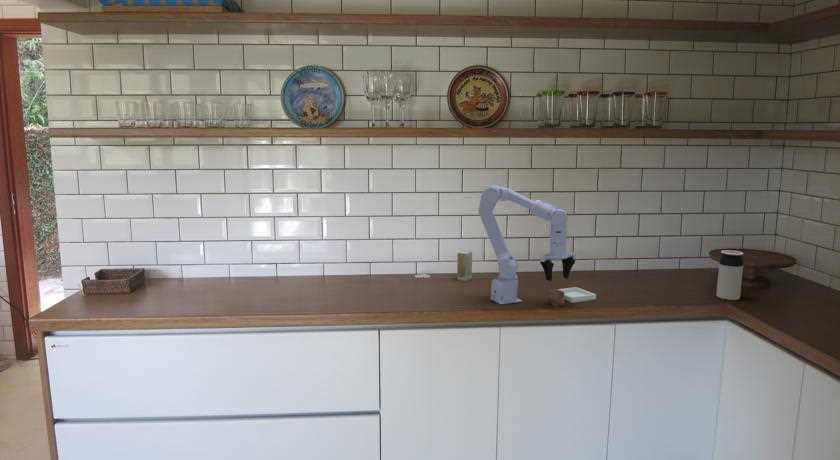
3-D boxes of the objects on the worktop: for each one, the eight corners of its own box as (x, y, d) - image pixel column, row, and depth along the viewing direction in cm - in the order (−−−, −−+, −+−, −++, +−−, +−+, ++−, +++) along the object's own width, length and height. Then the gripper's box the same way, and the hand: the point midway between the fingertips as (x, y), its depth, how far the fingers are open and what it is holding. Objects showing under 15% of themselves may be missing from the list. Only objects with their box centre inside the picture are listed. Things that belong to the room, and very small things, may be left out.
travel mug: (739, 301, 208) (744, 254, 205) (715, 298, 212) (719, 252, 209) (740, 296, 215) (744, 251, 212) (716, 293, 219) (721, 249, 216)
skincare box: (463, 277, 244) (463, 249, 242) (472, 278, 242) (472, 250, 240) (456, 280, 239) (457, 252, 237) (465, 281, 236) (466, 253, 234)
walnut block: (554, 306, 201) (555, 293, 200) (548, 303, 205) (548, 290, 204) (563, 305, 203) (564, 292, 202) (557, 302, 206) (557, 289, 206)
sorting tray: (571, 303, 205) (571, 297, 205) (552, 295, 216) (552, 290, 216) (596, 299, 210) (596, 294, 210) (576, 292, 220) (576, 287, 220)
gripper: (548, 246, 194) (547, 283, 196) (581, 242, 200) (580, 279, 202) (536, 242, 200) (535, 279, 202) (568, 239, 206) (567, 275, 208)
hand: (557, 279), depth 202 cm, fingers open, 7 cm apart
